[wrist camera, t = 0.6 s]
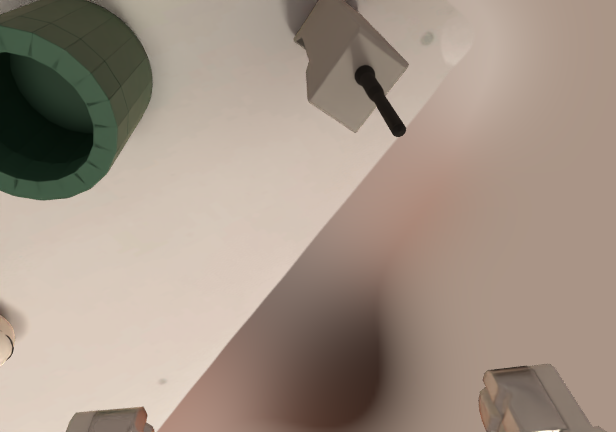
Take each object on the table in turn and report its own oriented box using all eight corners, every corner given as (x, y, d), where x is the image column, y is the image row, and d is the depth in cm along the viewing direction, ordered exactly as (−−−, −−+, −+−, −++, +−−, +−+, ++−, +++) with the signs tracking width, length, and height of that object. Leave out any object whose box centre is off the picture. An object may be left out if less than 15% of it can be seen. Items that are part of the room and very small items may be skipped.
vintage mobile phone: (293, 38, 41) (321, 164, 20) (326, -13, 39) (396, 68, 18) (326, 62, 42) (386, 204, 21) (360, 14, 40) (462, 119, 19)
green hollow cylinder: (-19, 3, 38) (-123, 35, 28) (131, -10, 38) (83, 17, 28) (38, 141, 44) (-28, 207, 34) (166, 129, 45) (137, 191, 35)
